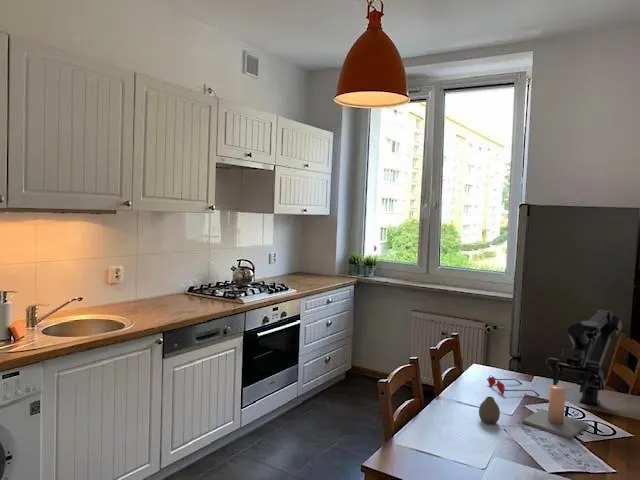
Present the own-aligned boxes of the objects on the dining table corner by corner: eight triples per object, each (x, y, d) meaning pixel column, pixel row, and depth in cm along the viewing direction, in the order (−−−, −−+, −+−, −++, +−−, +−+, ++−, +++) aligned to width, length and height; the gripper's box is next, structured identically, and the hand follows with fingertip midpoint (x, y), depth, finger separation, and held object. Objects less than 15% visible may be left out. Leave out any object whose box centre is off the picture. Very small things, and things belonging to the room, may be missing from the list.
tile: (541, 411, 189) (541, 408, 189) (588, 425, 177) (588, 423, 177) (522, 422, 178) (522, 419, 178) (570, 438, 166) (570, 435, 166)
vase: (500, 427, 173) (502, 402, 172) (479, 425, 174) (480, 400, 174) (497, 419, 180) (499, 395, 179) (477, 417, 181) (478, 393, 180)
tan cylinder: (545, 417, 180) (548, 384, 180) (560, 419, 180) (563, 385, 179) (550, 423, 175) (552, 389, 175) (565, 425, 175) (567, 390, 174)
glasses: (485, 385, 217) (486, 373, 217) (521, 384, 220) (522, 373, 219) (501, 397, 203) (502, 384, 203) (540, 396, 206) (541, 384, 205)
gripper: (547, 336, 192) (533, 371, 186) (600, 344, 178) (587, 382, 171) (557, 352, 198) (544, 387, 191) (609, 361, 183) (597, 399, 177)
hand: (567, 389), depth 183 cm, fingers open, 9 cm apart
